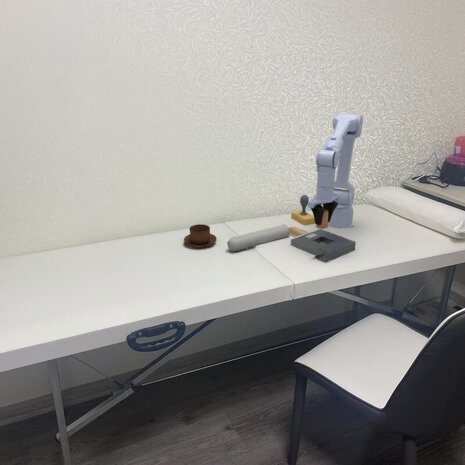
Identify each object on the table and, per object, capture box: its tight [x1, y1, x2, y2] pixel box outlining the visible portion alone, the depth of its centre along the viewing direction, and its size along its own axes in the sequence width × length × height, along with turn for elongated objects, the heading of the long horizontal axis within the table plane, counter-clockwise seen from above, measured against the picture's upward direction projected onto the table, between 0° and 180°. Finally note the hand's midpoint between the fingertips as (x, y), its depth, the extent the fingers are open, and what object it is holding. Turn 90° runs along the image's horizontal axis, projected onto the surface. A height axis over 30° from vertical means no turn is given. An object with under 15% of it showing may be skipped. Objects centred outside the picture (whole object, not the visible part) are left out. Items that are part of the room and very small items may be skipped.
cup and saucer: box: [183, 224, 217, 248], centre depth 159 cm, size 12×12×6 cm
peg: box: [315, 209, 329, 230], centre depth 152 cm, size 4×4×6 cm
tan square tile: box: [288, 225, 309, 238], centre depth 167 cm, size 8×8×1 cm
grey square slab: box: [290, 228, 357, 263], centre depth 154 cm, size 16×16×3 cm
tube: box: [226, 223, 291, 253], centre depth 158 cm, size 5×5×25 cm
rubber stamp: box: [290, 194, 316, 226], centre depth 177 cm, size 10×6×12 cm, turn 26°
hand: (322, 222), depth 152 cm, fingers closed on peg, 4 cm apart
